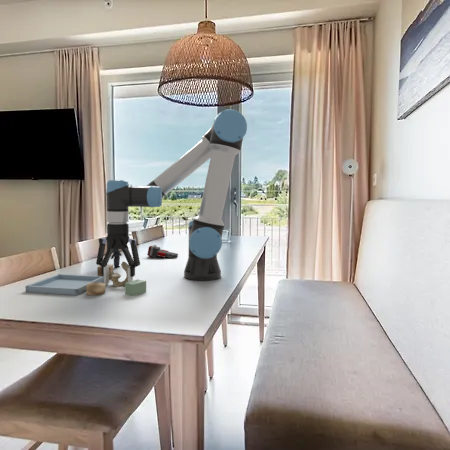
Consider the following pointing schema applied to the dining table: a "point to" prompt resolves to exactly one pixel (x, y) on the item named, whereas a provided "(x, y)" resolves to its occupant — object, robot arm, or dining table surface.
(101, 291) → the oak disc
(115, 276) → the beige curved figurine
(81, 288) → the tray
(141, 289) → the green painted block
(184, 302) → the dining table surface
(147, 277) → the dining table surface
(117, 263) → the toy
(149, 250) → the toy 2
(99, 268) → the walnut cube
